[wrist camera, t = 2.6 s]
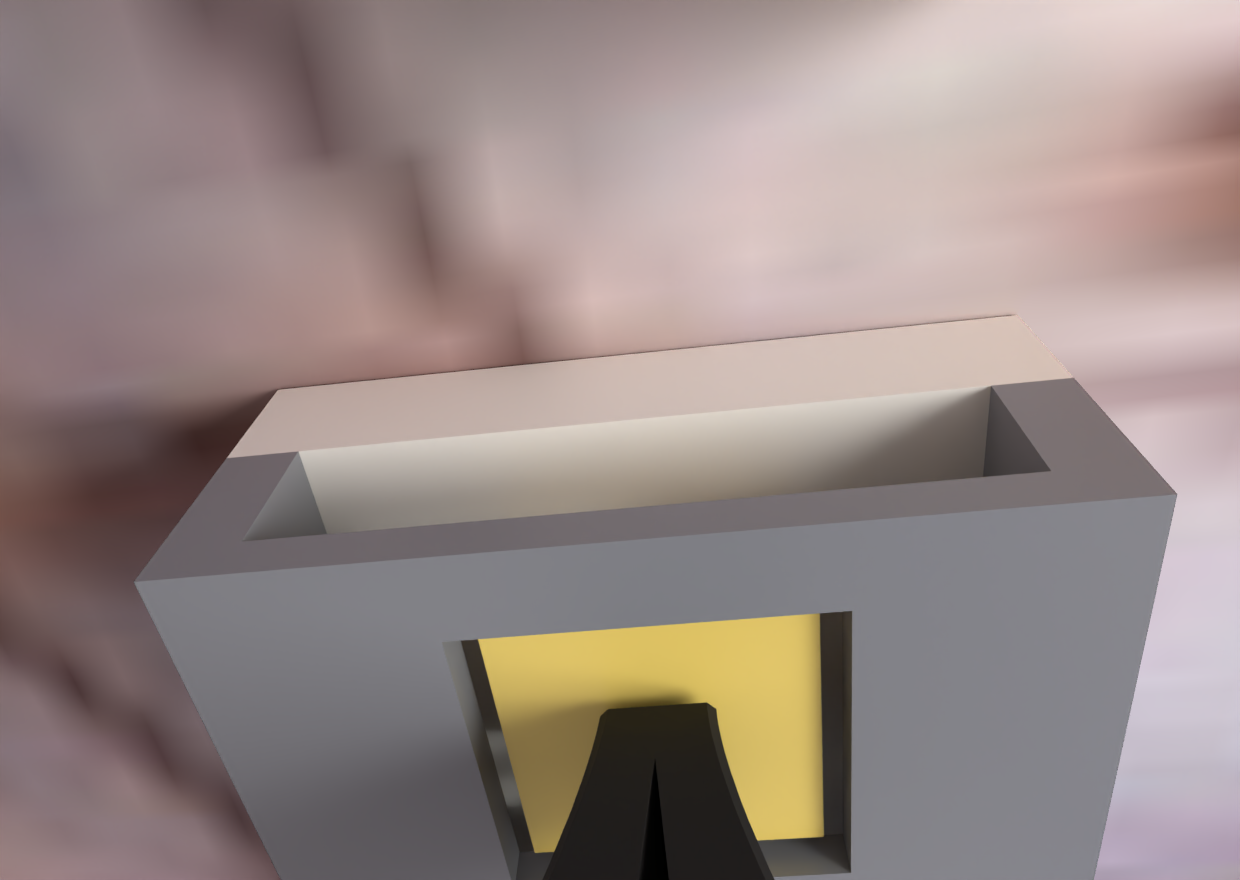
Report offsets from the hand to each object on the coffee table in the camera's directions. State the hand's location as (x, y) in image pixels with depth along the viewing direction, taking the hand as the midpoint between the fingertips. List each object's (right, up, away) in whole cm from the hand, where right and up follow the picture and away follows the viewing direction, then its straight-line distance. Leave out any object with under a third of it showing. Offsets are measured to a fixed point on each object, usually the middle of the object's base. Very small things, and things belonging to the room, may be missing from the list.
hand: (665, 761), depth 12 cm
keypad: (+1, -5, +8) cm, 9 cm away
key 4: (0, +1, +2) cm, 2 cm away
